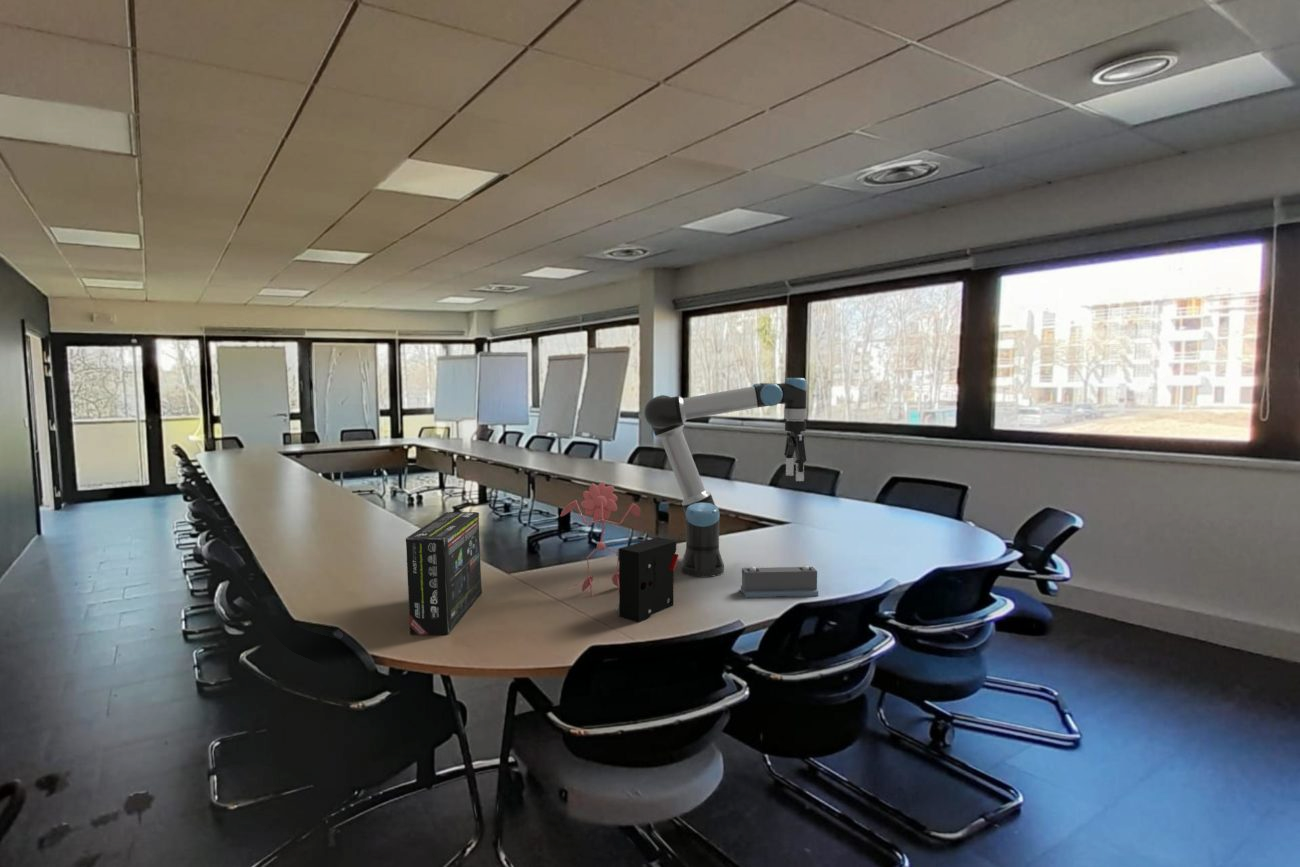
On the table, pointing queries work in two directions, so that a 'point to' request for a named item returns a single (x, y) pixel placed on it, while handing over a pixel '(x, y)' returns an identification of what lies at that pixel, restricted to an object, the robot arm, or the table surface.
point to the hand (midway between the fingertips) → (794, 478)
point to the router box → (443, 572)
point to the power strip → (779, 579)
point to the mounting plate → (781, 592)
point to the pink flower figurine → (600, 506)
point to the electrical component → (646, 578)
